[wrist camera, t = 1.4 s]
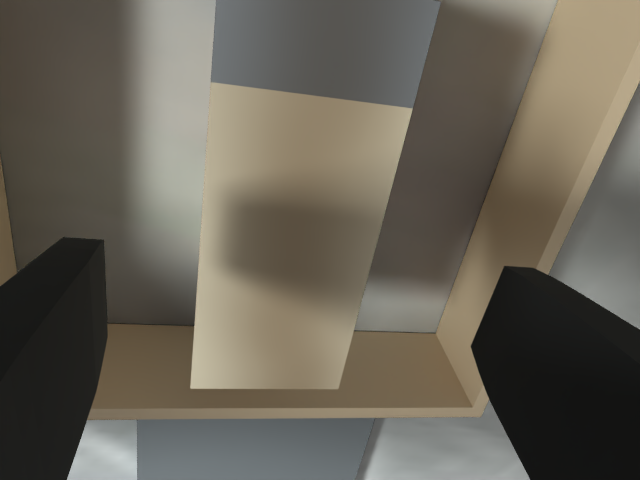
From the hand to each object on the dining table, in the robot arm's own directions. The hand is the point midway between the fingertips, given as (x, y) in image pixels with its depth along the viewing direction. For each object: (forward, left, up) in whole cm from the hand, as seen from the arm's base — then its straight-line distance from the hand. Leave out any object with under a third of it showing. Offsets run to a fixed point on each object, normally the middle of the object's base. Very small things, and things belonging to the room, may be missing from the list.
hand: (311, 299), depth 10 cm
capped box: (0, 0, -8) cm, 9 cm away
